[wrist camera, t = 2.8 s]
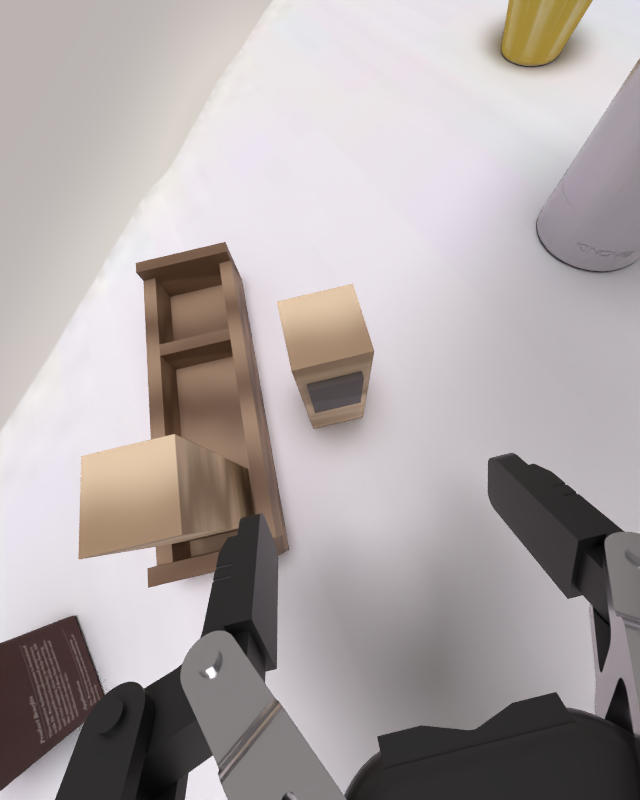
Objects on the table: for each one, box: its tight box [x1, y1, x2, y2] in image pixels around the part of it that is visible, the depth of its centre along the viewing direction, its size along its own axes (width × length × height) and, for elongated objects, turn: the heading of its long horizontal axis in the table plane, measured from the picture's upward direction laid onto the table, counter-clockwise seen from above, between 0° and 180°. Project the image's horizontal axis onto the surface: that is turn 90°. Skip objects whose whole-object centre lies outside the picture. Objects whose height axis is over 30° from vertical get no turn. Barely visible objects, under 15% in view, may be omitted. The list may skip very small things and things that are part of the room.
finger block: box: [277, 284, 374, 429], centre depth 21 cm, size 4×4×11 cm
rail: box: [79, 242, 289, 588], centre depth 21 cm, size 24×8×12 cm, turn 13°
